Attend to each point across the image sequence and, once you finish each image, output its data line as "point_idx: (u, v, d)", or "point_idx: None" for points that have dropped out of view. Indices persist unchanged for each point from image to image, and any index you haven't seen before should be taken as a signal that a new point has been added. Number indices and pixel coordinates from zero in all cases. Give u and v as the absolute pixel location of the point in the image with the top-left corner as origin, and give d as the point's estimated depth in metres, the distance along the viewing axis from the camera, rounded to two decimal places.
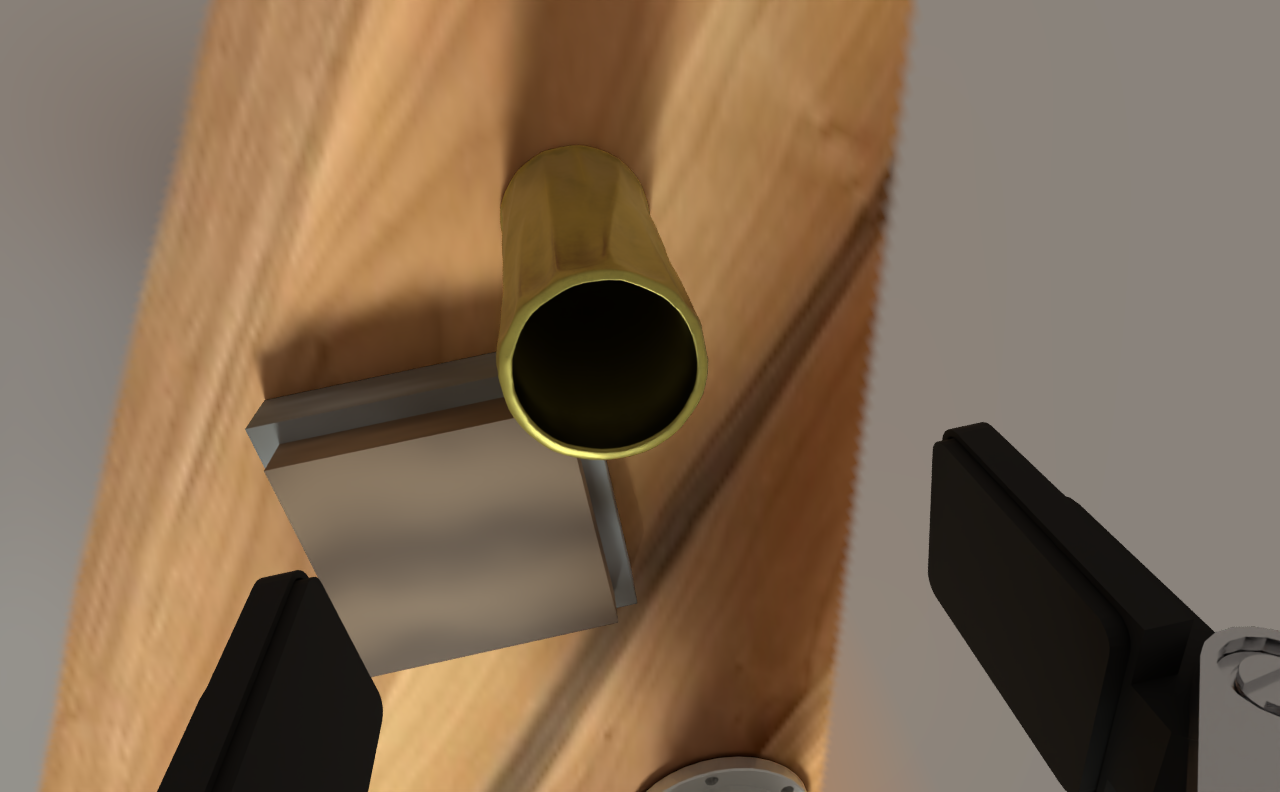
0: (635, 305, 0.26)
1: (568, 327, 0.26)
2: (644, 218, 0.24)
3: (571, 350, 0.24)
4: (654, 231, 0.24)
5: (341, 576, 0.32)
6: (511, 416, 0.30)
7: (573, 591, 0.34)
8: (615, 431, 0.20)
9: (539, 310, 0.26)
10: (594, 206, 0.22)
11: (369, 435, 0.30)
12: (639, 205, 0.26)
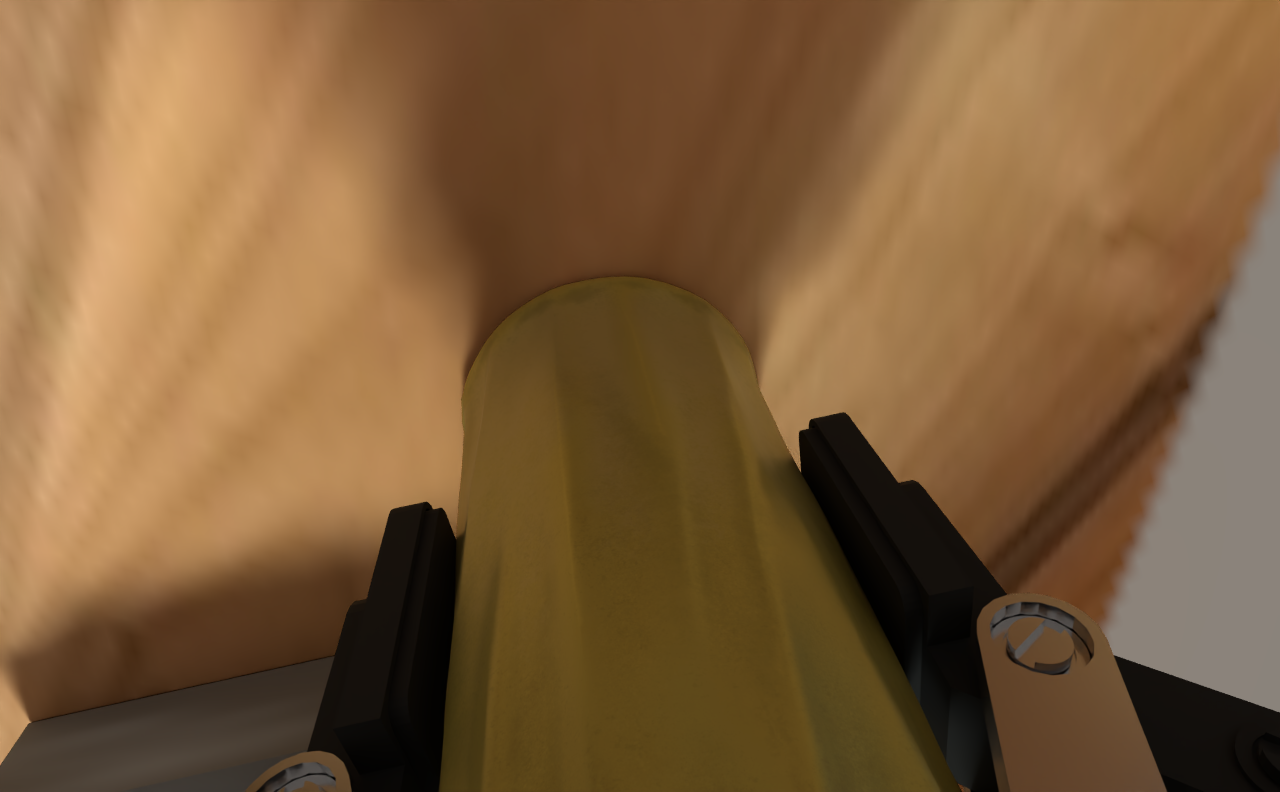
0: None
1: None
2: (824, 546, 0.09)
3: None
4: (855, 588, 0.09)
5: None
6: None
7: None
8: None
9: None
10: (722, 613, 0.07)
11: None
12: (779, 454, 0.11)
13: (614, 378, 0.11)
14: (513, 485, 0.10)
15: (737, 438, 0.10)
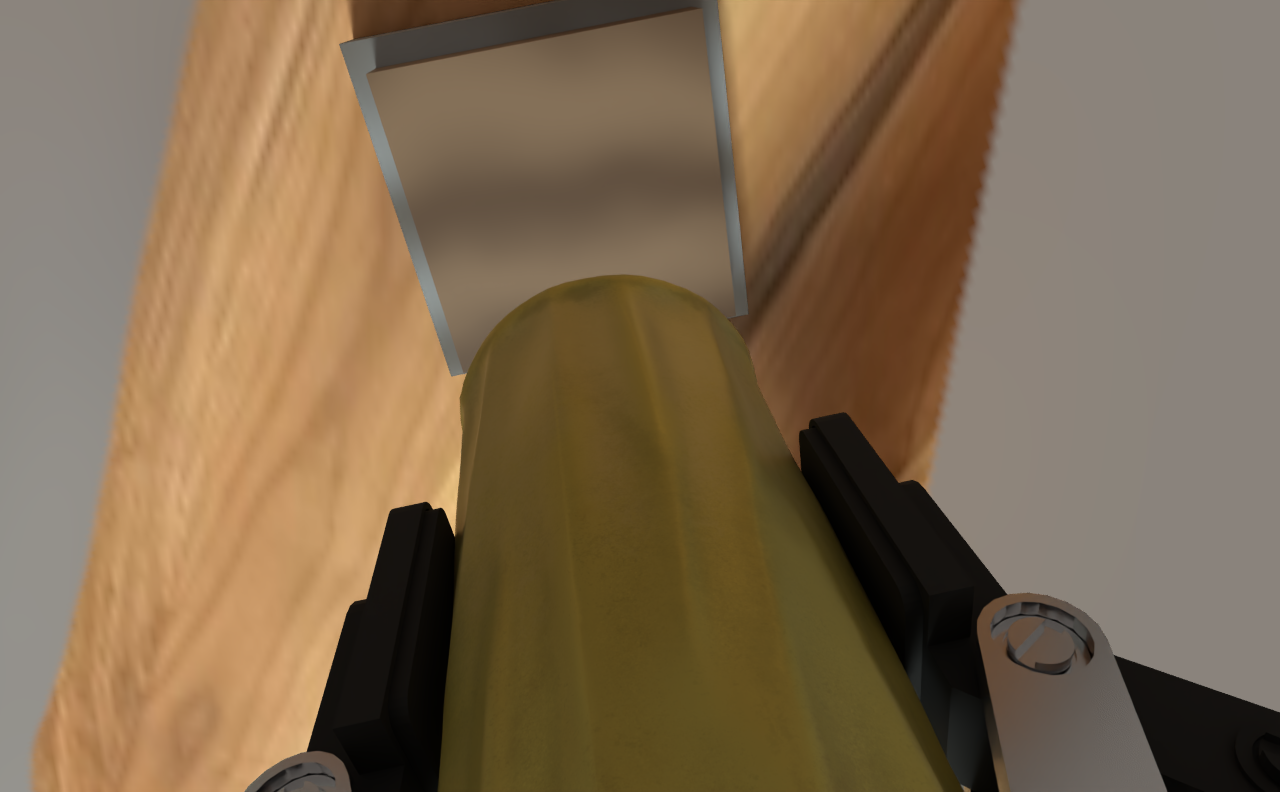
0: None
1: None
2: (824, 543, 0.09)
3: None
4: (855, 586, 0.09)
5: (442, 230, 0.29)
6: (642, 19, 0.26)
7: (692, 269, 0.31)
8: None
9: None
10: (722, 610, 0.07)
11: (479, 49, 0.27)
12: (779, 452, 0.11)
13: (613, 376, 0.11)
14: (512, 483, 0.10)
15: (736, 436, 0.10)
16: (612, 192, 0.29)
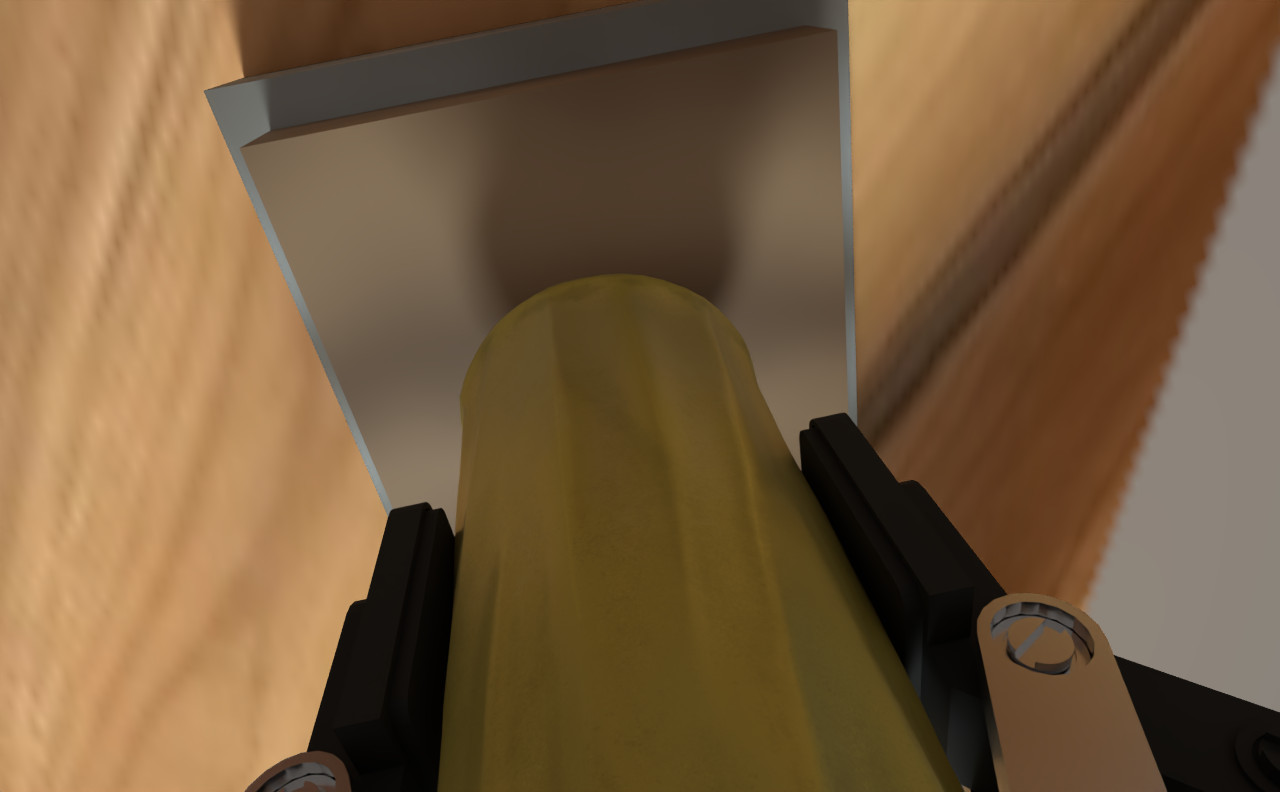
0: None
1: None
2: (824, 543, 0.09)
3: None
4: (855, 585, 0.09)
5: (388, 394, 0.17)
6: (731, 49, 0.15)
7: (789, 437, 0.19)
8: None
9: None
10: (722, 609, 0.07)
11: (446, 100, 0.15)
12: (779, 451, 0.11)
13: (613, 375, 0.11)
14: (512, 482, 0.10)
15: (736, 435, 0.10)
16: None
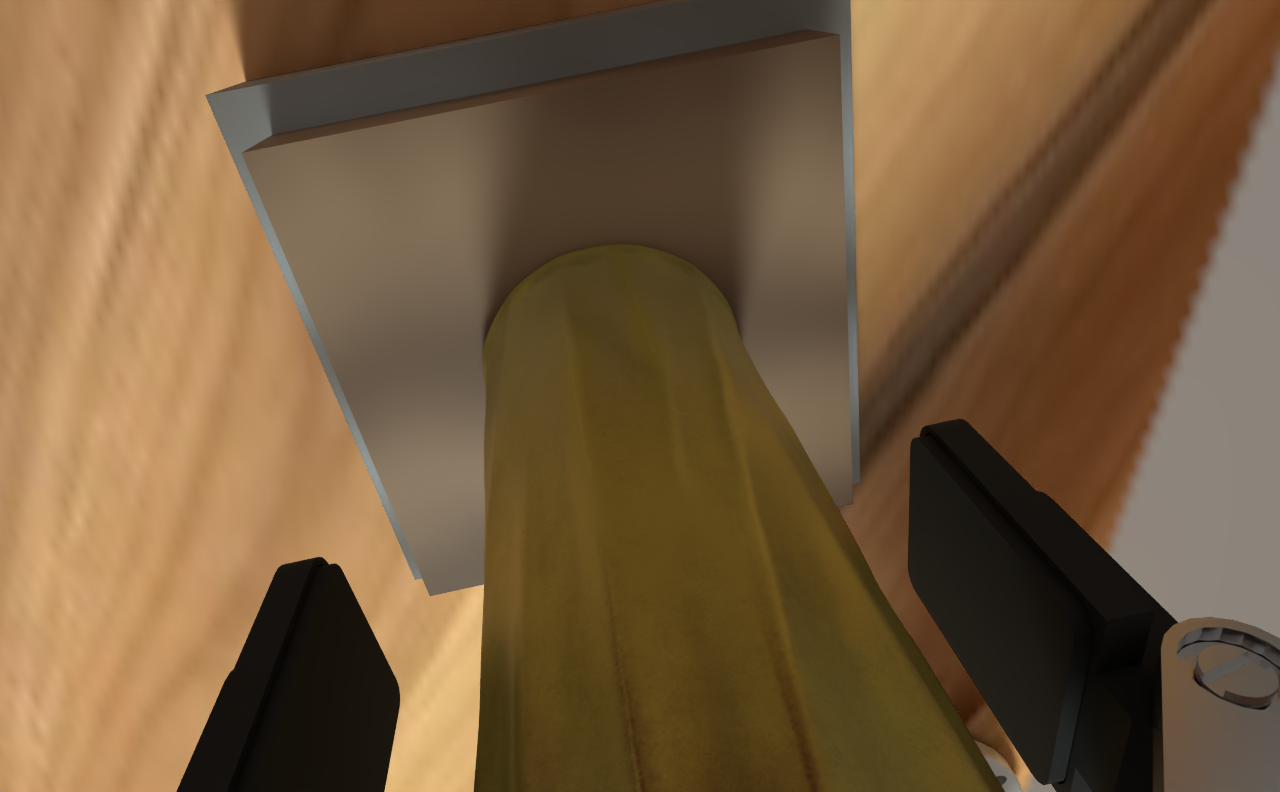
0: None
1: None
2: (786, 439, 0.11)
3: None
4: (811, 471, 0.11)
5: (390, 398, 0.17)
6: (734, 54, 0.15)
7: None
8: None
9: None
10: (699, 464, 0.09)
11: (448, 104, 0.15)
12: (753, 380, 0.13)
13: (614, 318, 0.13)
14: (532, 402, 0.12)
15: (715, 359, 0.12)
16: None
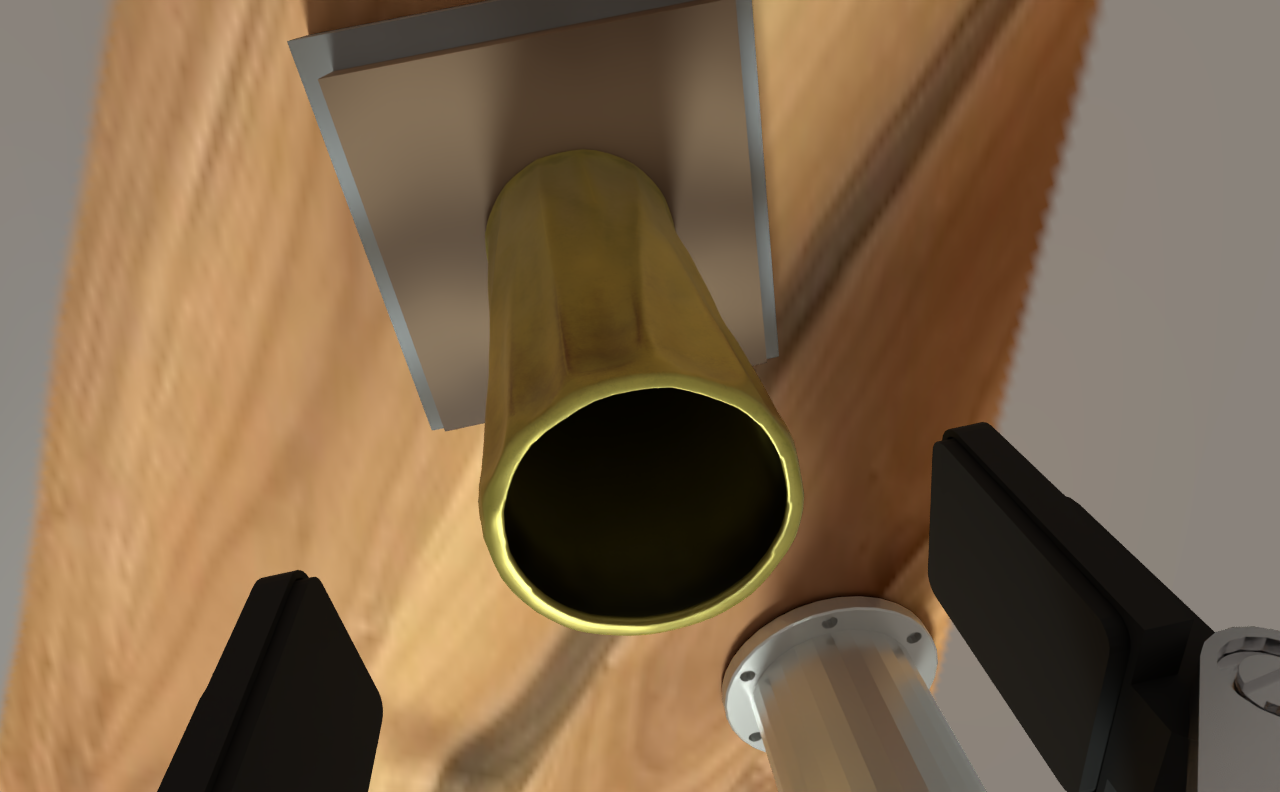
0: None
1: None
2: (679, 252, 0.18)
3: (587, 435, 0.18)
4: (694, 270, 0.18)
5: (417, 267, 0.24)
6: (661, 11, 0.21)
7: None
8: (660, 581, 0.14)
9: None
10: (613, 245, 0.16)
11: (460, 47, 0.22)
12: (667, 229, 0.20)
13: (572, 189, 0.20)
14: (518, 239, 0.19)
15: (636, 207, 0.18)
16: None
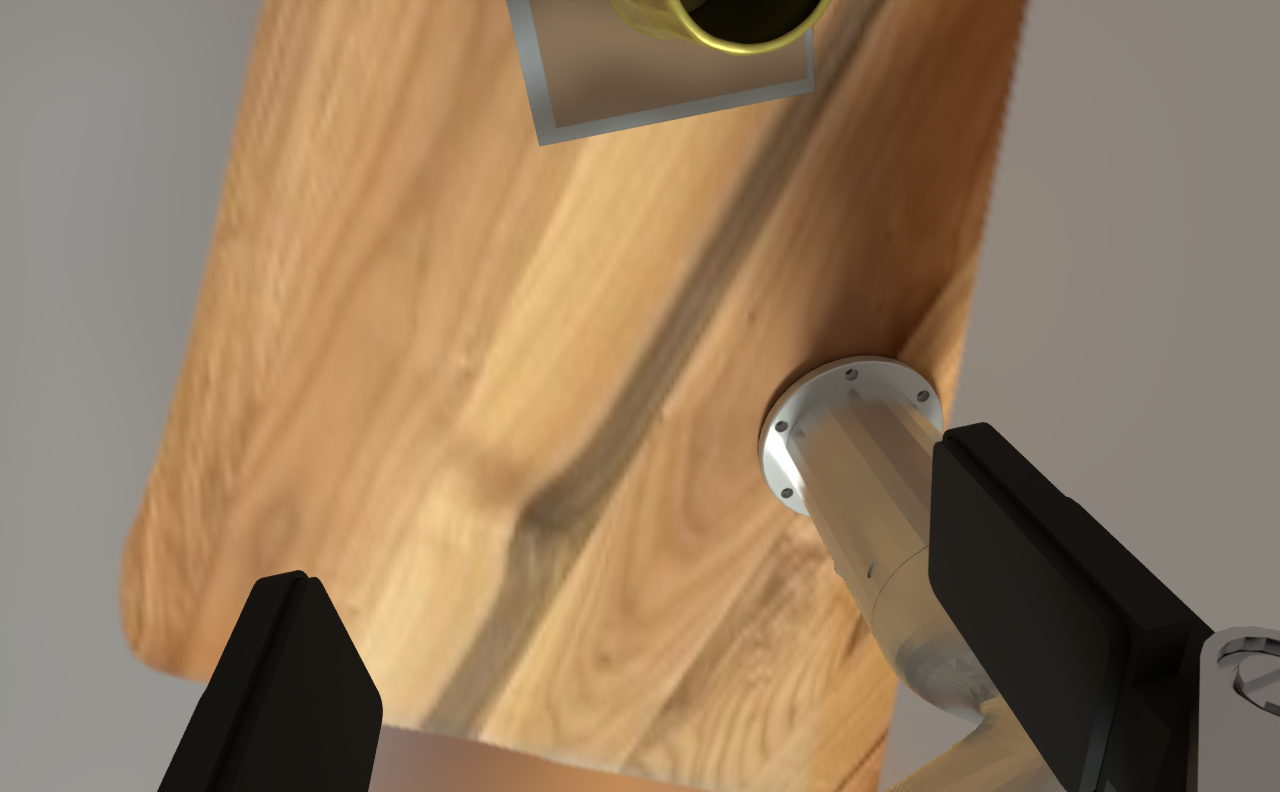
0: None
1: None
2: None
3: None
4: None
5: None
6: None
7: None
8: (753, 41, 0.21)
9: None
10: None
11: None
12: None
13: None
14: None
15: None
16: None
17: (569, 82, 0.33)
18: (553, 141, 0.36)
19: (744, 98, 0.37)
